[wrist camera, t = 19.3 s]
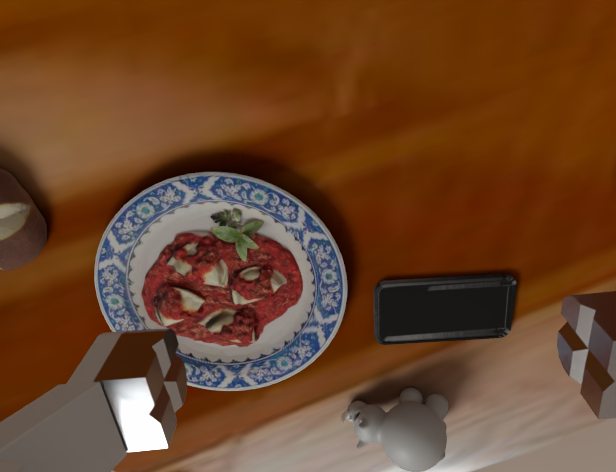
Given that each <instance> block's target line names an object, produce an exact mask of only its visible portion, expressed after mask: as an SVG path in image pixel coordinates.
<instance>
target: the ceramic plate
mask: <svg viewBox="0 0 616 472" xmlns="http://www.w3.org/2000/svg"><path fill="white" fill-rule="evenodd" d="M94 279H95V288H96V293H97V298H98V301H99V305H100V308H101V311H102V313H103V315H104V317H105V319H106V321H107V323H108V325H109V327H110V328H111V330H112V331H113V332H119V331H125V332H126V331H134V330H150V329H167V328H171V329H172V330H173V331H175V333H176V337H177V340H178V343H179V345H178V348H177V350H176V353H175V354H176V355H177V356H178V357H179V358H181V359H182V360H183V361H184V364H185V368H186V375H187V385H190V386H194V387H198V388H203V389H210V390H220V391H239V390H249V389H255V388H260V387H264V386H268V385H271V384H274V383H277V382H280V381H282V380H284V379H287V378H289V377H291V376H293V375H294V374H296V373H298V372H300V371H301V370H303V369H304V368H306V367H307V366H308V365H309V364H311V363H312V362H313V361H314V360H315V359H316V358H317V357H318V356H320V355H321V354H322V352H323V351H324V350H325V349H326V348H327V346H328V345H329V344H330V342H331V341H332V339H333V338H334V336H335V334H336V332H337V331H338V329H339V326H340V324H341V321H342V319H343V315H344V312H345V308H346V301H347V275H346V270H345V266H344V262H343V258H342V255H341V253H340V250H339V248H338V246H337V244H336V242H335V240H334V238H333V236H332V235H331V233H330V232H329V230H328V229H327V227H326V226H325V225H324V223H323V222H322V221H321V220H320V219H319V217H318V216H317V215H316V214H315V213H314V212H313V211H312V210H311V209H310V208H309V207H307V206H306V205H305V204H304V203H302V202H301V201H300V200H299V199H297V198H296V197H294V196H293V195H291V194H290V193H288V192H286V191H285V190H283V189H281V188H279V187H277V186H275V185H273V184H270V183H268V182H265V181H263V180H260V179H257V178H253V177H250V176H246V175H241V174H236V173H227V172H200V173H191V174H185V175H181V176H178V177H174V178H170V179H167V180H164V181H162V182H160V183H157V184H155V185H153V186H151V187H149V188H147V189H145V190H144V191H142V192H141V193H139V194H138V195H137V196H135V197H134V198H132V199H131V200H130V201H129V202H128V203H127V204H125V205H124V206H123V207H122V208H121V209H120V211H119V212H118V213H117V214H116V215H115V216H114V218H113V219H112V221H111V222H110V223H109V225H108V227H107V229H106V230H105V232H104V234H103V237H102V239H101V242H100V244H99V247H98V251H97V255H96V261H95V278H94Z"/></svg>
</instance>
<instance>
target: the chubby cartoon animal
mask: <svg viewBox="0 0 616 472" xmlns="http://www.w3.org/2000/svg"><path fill="white" fill-rule="evenodd" d="M422 401H423V397H422V395H421V393H420V392H419V391H418V390H416V389H414V388H406V389H404V390H403V391H402V392H401V395H400V404H398V405H396V406H395V407H393V408H392V409H391V410H390V411H389V412H387V413H386V412H385V411H384V410H383V409H382V408H380V407H379V406H377V405H367V404H365V403H364V402H362V401H354V402H353V403H351V404H350V405H349V406H348V409H347V411H345V412H344V413H343V414H342V416H341V421H342V423H343V421H344V420H345V419H349V421H350V422H351V423H352V424H353V425H354V431H355V434H356V435H357V437H358V438H359V440H360V442H359V444H358V445H357V448H358V449H359V448H361V447H363V446H364V445H365V444H367V443H370V444H373V443H381V444H382V446H383V449H384V451H385V453H386V455H387V456H388V458H389V459H390V460H391V461H392V462H393V463H394V464H395V465H397V466H398V467H400V468H402V469H404V470H407V471H412V472H421V471H425V470H428V469H430V468H432V467H433V466H435V465H436V464H437V463H438V462H439V461H440V460H442V459H443V458H444V457H445V448H446V442H447V436H446V425H445V423H444V421H443V420H444V418H445V416H446V415H447V412H448V408H449V404H448V401H447V399H446V398H445V397H443V396H442V395H440V394H432V395H430V396H428V397H427V399H426V402H425V404H422Z"/></svg>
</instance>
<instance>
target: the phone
mask: <svg viewBox="0 0 616 472" xmlns="http://www.w3.org/2000/svg"><path fill="white" fill-rule="evenodd" d="M516 288H517V283H516V281H515V279H514V278H513V277H512V276H511V275H509V274H489V275H468V276H455V277H438V278H421V279H404V280H388V281H381V282H379V283H378V284H376V286H375V287H374V335H375V339H376V341H377V342H378V343H380V344H384V345H388V344H405V343H422V342H439V341H456V340H472V339H489V338H502V337H504V336H506V335H508V334H509V332H510V330H511V325H512V318H513V310H514V303H515V295H516Z"/></svg>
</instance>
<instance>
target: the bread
mask: <svg viewBox="0 0 616 472" xmlns="http://www.w3.org/2000/svg"><path fill="white" fill-rule="evenodd" d="M46 239H47V225H46V222H45V219H44V217H43V216H42V214H41V213H40V212H39V210H38V209H37V207H36V205H35V204H34V202H33V201H32V199H31V197H30V195H29V194H28V193H27V192H26V191H25V189H24V188H23V187H22V186H21V185H20V184H19V183H18V182H17V180H16V179H15V177H14V176H13V175H12V174H11V173H9V172H7V171H5V170H3V169H0V270H1V269H2V270H5V271H7V270H12V269H15V268H18V267H21V266H23V265H25V264H27V263H29V262H30V261H32V260H33V259H34V258H36V257H37V256H38V255H39V254H40V252H41V251H42V250H43V248H44V246H45V243H46Z"/></svg>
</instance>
